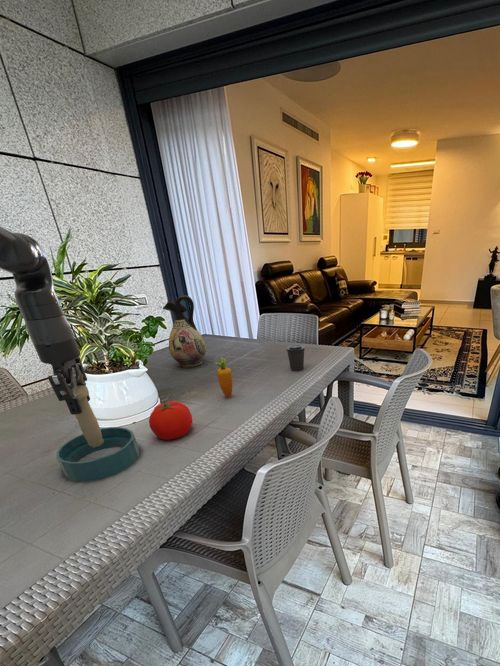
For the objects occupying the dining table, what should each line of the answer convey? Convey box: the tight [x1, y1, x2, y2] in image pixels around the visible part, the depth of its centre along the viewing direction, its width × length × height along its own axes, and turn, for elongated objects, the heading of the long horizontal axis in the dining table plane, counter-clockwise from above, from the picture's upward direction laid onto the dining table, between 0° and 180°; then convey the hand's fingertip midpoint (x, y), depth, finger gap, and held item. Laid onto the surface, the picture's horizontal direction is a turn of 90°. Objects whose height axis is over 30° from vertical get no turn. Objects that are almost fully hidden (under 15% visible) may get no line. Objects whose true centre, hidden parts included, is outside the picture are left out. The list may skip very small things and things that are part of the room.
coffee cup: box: [285, 344, 306, 372], centre depth 147 cm, size 8×8×10 cm
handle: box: [70, 385, 104, 448], centre depth 86 cm, size 5×6×15 cm
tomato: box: [148, 399, 193, 441], centre depth 101 cm, size 12×12×10 cm
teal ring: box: [56, 426, 141, 482], centre depth 91 cm, size 17×17×6 cm
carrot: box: [214, 356, 233, 399], centre depth 122 cm, size 5×5×15 cm
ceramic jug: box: [162, 294, 207, 368], centre depth 153 cm, size 17×15×30 cm
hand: (81, 407), depth 84 cm, fingers closed on handle, 6 cm apart
